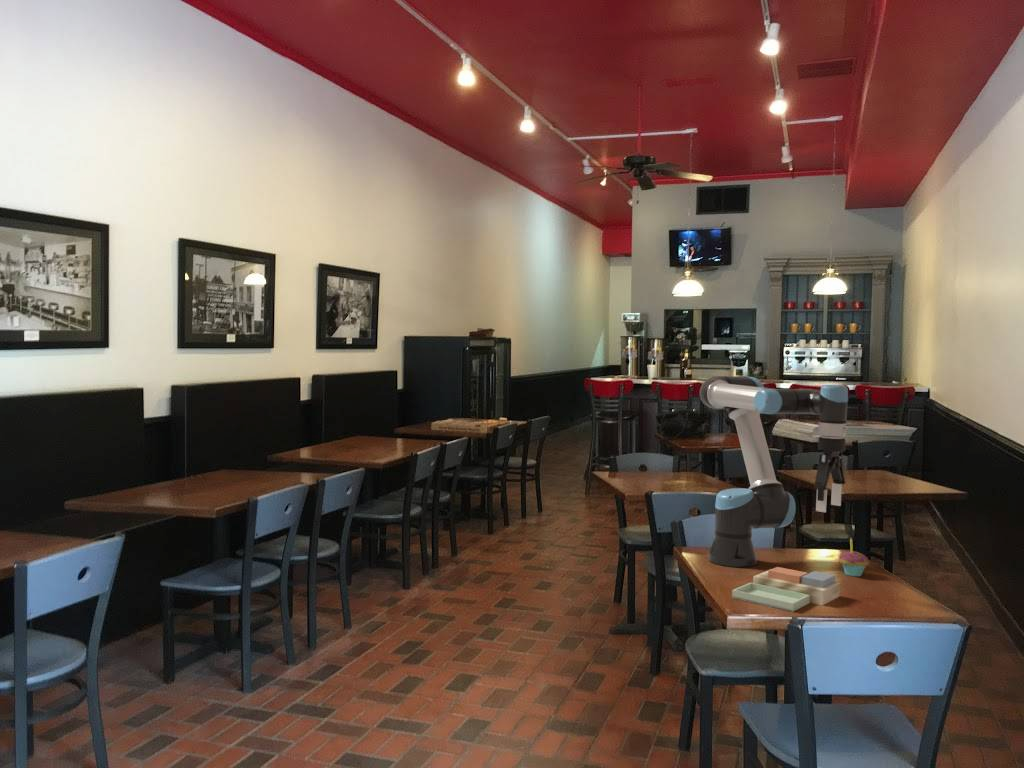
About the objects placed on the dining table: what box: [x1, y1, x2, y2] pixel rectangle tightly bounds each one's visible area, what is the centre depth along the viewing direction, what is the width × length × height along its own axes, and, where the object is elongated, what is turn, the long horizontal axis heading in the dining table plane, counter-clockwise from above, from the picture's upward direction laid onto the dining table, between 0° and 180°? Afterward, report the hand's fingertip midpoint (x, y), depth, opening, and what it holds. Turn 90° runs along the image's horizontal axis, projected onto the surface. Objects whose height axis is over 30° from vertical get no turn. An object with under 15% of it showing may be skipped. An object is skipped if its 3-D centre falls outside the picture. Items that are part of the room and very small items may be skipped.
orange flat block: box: [767, 566, 809, 584], centre depth 234 cm, size 9×6×2 cm, turn 48°
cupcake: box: [838, 538, 869, 577], centre depth 256 cm, size 9×8×12 cm
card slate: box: [802, 570, 837, 588], centre depth 230 cm, size 9×6×2 cm, turn 138°
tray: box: [731, 582, 811, 613], centre depth 226 cm, size 17×11×2 cm, turn 48°
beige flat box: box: [752, 568, 840, 606], centre depth 233 cm, size 20×12×4 cm, turn 48°
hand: (828, 508), depth 244 cm, fingers open, 13 cm apart
